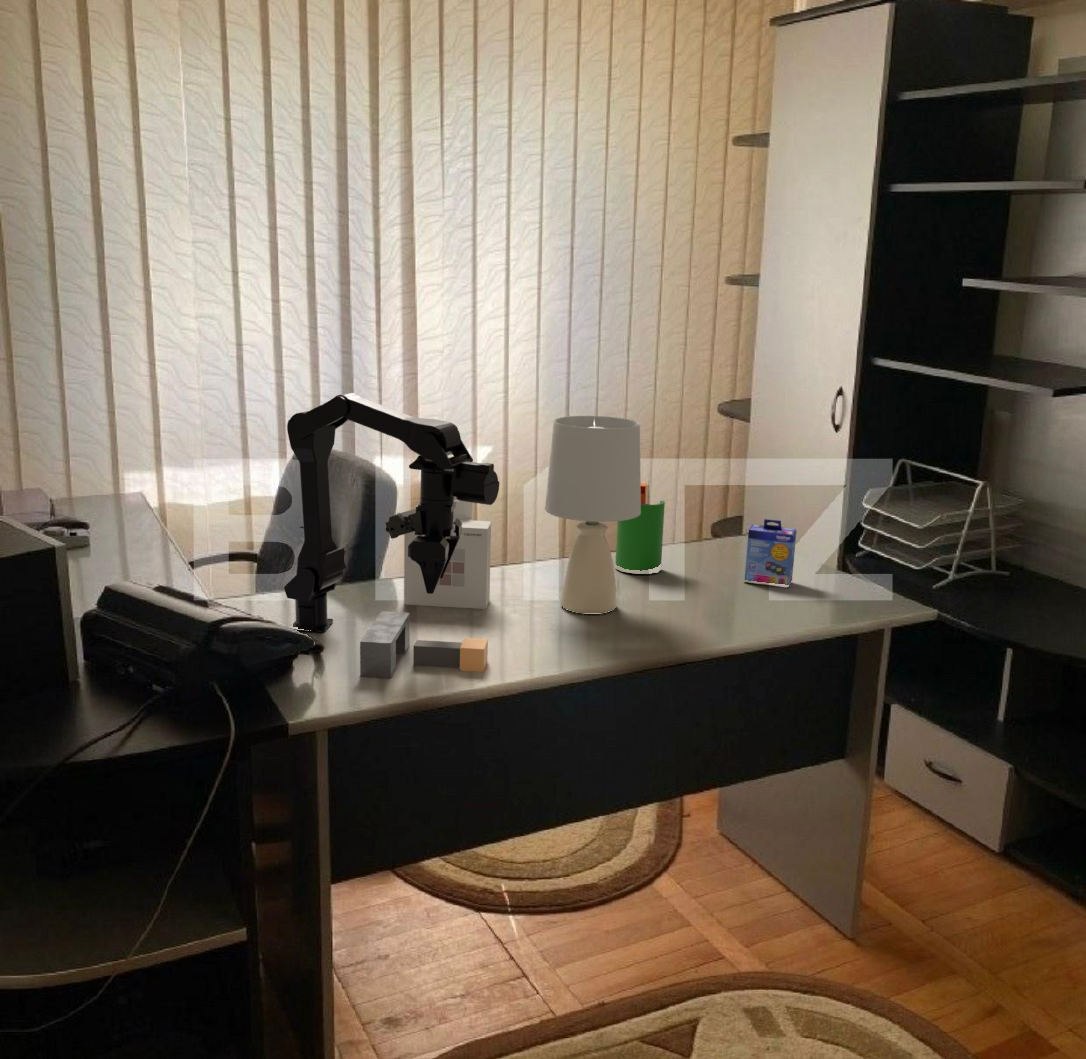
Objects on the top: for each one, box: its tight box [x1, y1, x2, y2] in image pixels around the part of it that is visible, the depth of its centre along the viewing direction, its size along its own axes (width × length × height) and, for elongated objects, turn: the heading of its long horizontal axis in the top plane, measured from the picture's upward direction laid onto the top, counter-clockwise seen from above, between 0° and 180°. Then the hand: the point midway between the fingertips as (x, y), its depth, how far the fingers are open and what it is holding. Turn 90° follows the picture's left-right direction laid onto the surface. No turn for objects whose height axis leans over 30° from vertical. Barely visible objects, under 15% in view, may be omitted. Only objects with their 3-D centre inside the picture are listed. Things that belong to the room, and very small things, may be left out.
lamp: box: [544, 415, 642, 613], centre depth 219 cm, size 19×19×37 cm
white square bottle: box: [403, 497, 492, 610], centre depth 227 cm, size 16×19×20 cm
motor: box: [615, 483, 666, 571], centre depth 248 cm, size 10×9×20 cm
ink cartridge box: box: [743, 518, 797, 586], centre depth 242 cm, size 10×6×14 cm, turn 72°
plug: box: [412, 637, 489, 673], centre depth 189 cm, size 5×12×4 cm, turn 86°
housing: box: [359, 610, 411, 679], centre depth 190 cm, size 16×5×6 cm, turn 176°
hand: (434, 585), depth 194 cm, fingers open, 9 cm apart
